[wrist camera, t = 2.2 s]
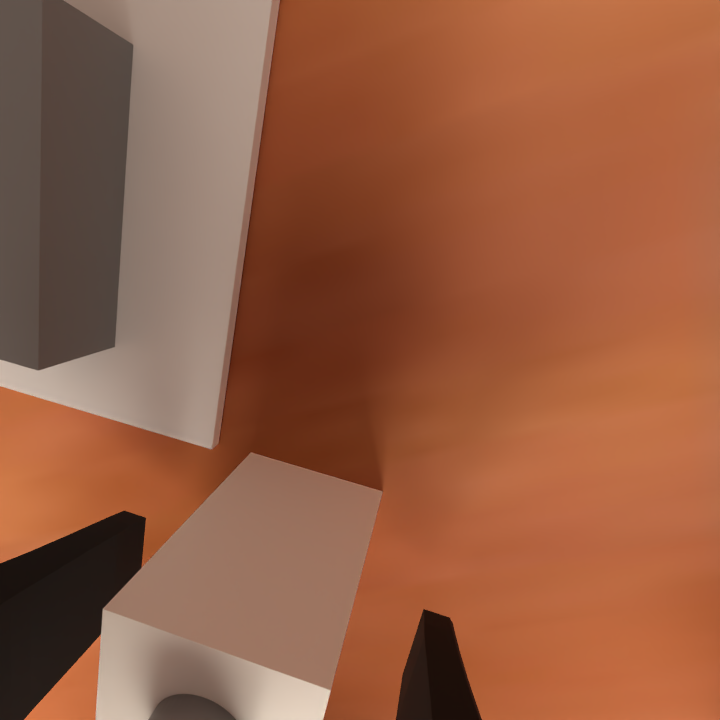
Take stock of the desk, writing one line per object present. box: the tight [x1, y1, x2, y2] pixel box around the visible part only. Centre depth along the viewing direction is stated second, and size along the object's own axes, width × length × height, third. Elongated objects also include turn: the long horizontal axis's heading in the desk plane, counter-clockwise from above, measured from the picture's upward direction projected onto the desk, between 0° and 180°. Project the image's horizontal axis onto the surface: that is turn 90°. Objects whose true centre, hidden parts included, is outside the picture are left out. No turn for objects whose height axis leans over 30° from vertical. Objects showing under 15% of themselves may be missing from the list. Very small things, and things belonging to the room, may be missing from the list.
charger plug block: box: [96, 452, 383, 720], centre depth 10 cm, size 4×4×7 cm
